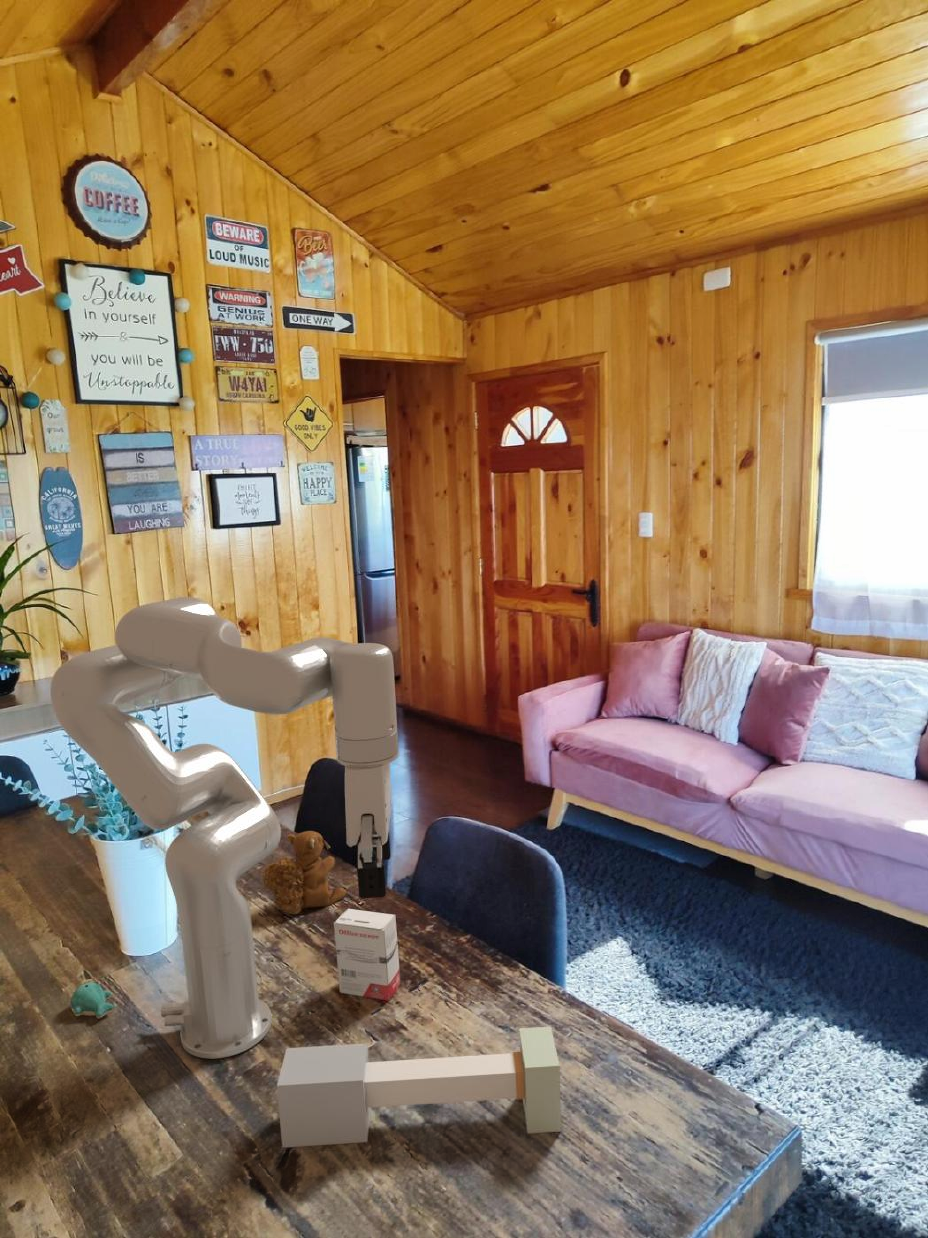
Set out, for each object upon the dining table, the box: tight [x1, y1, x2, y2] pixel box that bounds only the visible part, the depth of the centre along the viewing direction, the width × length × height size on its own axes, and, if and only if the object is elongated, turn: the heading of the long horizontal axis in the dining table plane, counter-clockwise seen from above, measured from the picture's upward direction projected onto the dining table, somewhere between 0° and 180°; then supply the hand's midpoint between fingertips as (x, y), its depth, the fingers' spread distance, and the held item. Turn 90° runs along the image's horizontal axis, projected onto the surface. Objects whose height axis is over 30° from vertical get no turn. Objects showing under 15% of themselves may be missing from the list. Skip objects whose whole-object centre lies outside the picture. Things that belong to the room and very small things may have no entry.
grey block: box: [276, 1042, 372, 1148], centre depth 99 cm, size 10×6×8 cm, turn 92°
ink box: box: [333, 908, 402, 1002], centre depth 126 cm, size 9×5×12 cm, turn 71°
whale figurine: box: [70, 982, 115, 1019], centre depth 124 cm, size 6×7×4 cm
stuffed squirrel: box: [259, 830, 347, 916], centre depth 153 cm, size 10×14×13 cm
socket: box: [518, 1026, 562, 1134], centre depth 100 cm, size 4×7×9 cm, turn 2°
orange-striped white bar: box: [364, 1051, 526, 1109], centre depth 100 cm, size 24×4×4 cm, turn 92°
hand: (375, 877), depth 102 cm, fingers open, 9 cm apart
